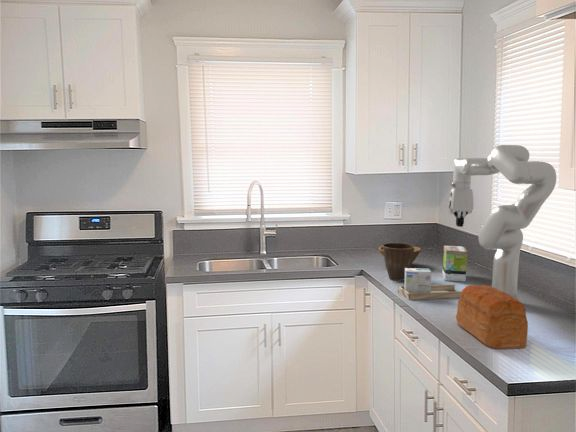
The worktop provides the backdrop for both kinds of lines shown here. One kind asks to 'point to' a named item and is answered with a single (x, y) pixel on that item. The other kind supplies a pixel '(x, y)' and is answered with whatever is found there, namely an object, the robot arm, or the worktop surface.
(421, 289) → the light bulb box
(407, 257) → the plant pot
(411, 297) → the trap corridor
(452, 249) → the tea box
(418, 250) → the bowl
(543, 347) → the worktop surface
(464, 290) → the bread
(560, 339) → the worktop surface
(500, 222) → the robot arm
